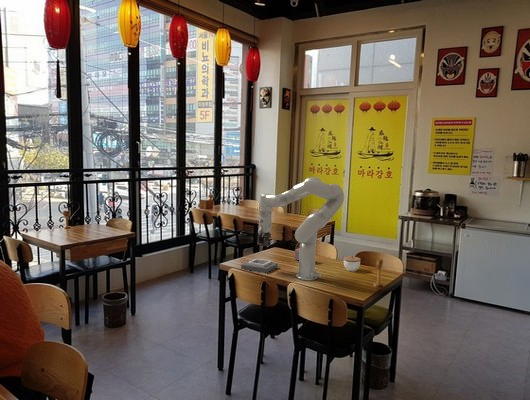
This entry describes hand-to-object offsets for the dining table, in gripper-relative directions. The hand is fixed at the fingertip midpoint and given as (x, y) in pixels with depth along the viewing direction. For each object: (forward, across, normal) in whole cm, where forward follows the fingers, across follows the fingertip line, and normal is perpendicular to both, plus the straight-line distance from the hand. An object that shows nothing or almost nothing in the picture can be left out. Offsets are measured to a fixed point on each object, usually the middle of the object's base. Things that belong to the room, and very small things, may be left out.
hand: (264, 241), depth 251 cm
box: (+2, 0, 0) cm, 2 cm away
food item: (+18, +35, -15) cm, 43 cm away
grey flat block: (+19, +4, +4) cm, 19 cm away
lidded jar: (+17, +30, -49) cm, 60 cm away
